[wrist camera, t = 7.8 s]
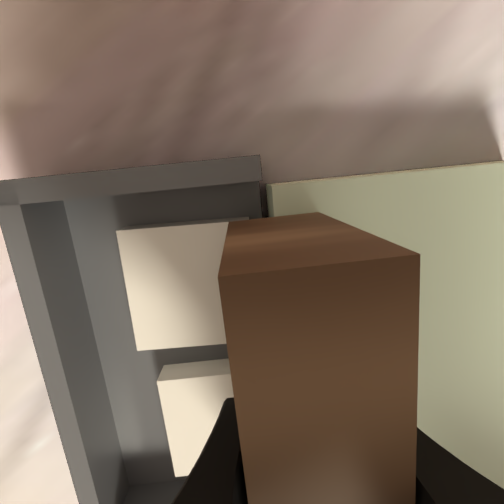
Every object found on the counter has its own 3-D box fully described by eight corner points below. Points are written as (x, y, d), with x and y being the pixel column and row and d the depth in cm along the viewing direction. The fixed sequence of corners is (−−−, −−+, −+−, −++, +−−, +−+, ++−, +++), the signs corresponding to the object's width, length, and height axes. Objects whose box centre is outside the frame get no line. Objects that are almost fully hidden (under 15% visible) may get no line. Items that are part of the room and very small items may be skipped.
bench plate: (480, 438, 16) (531, 495, 13) (288, 457, 16) (298, 518, 13) (503, 160, 13) (577, 155, 10) (265, 184, 13) (271, 185, 10)
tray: (284, 474, 17) (293, 537, 14) (120, 490, 17) (94, 556, 14) (256, 160, 13) (259, 154, 10) (45, 180, 13) (-13, 181, 10)
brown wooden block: (334, 496, 13) (409, 747, 7) (262, 505, 13) (281, 766, 7) (318, 211, 10) (420, 254, 5) (227, 221, 10) (214, 277, 5)
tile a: (280, 444, 16) (283, 465, 14) (180, 454, 16) (175, 476, 14) (272, 353, 14) (274, 369, 13) (163, 365, 14) (156, 381, 13)
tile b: (257, 327, 14) (258, 341, 13) (146, 336, 14) (137, 350, 13) (248, 216, 13) (249, 220, 12) (127, 225, 13) (115, 230, 12)
